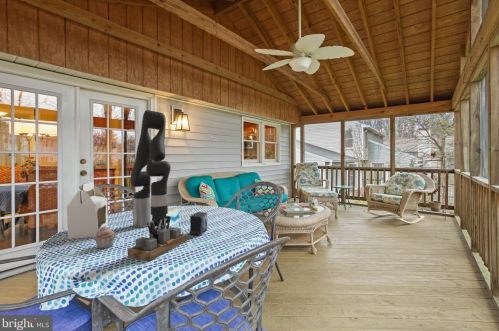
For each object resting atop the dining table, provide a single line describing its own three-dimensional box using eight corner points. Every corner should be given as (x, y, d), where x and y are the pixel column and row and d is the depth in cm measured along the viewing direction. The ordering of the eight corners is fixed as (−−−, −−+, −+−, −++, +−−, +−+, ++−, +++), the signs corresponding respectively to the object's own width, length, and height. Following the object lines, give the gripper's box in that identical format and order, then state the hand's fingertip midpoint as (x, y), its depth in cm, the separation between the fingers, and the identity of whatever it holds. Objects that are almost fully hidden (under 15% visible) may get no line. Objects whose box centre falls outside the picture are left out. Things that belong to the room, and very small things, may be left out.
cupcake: (114, 248, 123) (113, 227, 122) (91, 251, 120) (91, 229, 120) (118, 242, 132) (117, 222, 131) (97, 244, 129) (96, 224, 129)
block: (149, 242, 123) (149, 230, 122) (156, 239, 127) (156, 227, 127) (163, 245, 120) (163, 231, 120) (170, 241, 124) (169, 229, 124)
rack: (127, 257, 113) (127, 241, 113) (167, 238, 138) (167, 225, 138) (150, 261, 109) (150, 244, 108) (187, 241, 134) (187, 227, 133)
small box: (201, 235, 142) (200, 216, 142) (189, 235, 144) (189, 215, 143) (207, 230, 153) (207, 212, 152) (197, 229, 154) (197, 211, 154)
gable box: (83, 227, 158) (82, 180, 157) (108, 226, 161) (106, 180, 160) (67, 239, 136) (65, 185, 135) (95, 237, 140) (94, 184, 138)
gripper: (162, 201, 130) (163, 235, 131) (141, 206, 117) (142, 244, 118) (175, 202, 128) (175, 236, 129) (155, 207, 114) (155, 246, 115)
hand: (159, 240), depth 123 cm, fingers closed on block, 4 cm apart
